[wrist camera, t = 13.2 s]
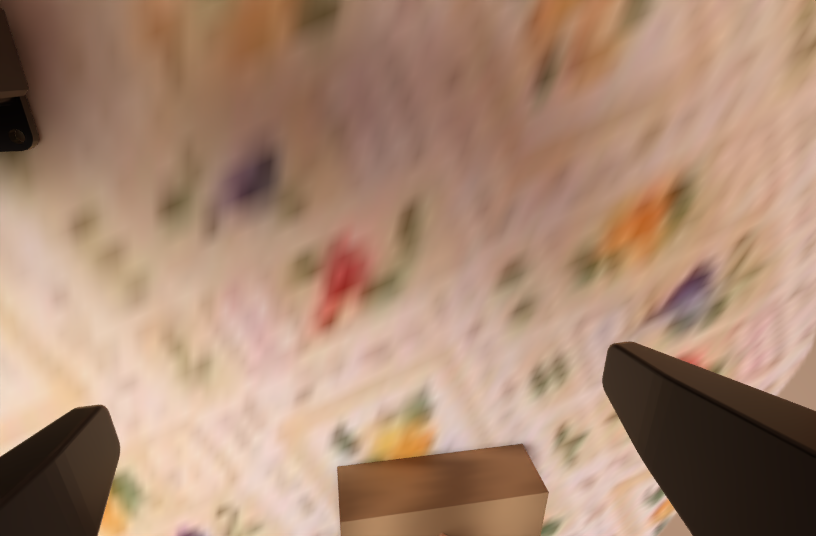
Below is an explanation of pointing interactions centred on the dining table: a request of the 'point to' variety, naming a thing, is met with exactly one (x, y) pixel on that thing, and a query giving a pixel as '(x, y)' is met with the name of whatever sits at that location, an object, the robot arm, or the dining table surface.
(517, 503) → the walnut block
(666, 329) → the dining table surface
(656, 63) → the dining table surface
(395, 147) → the dining table surface
